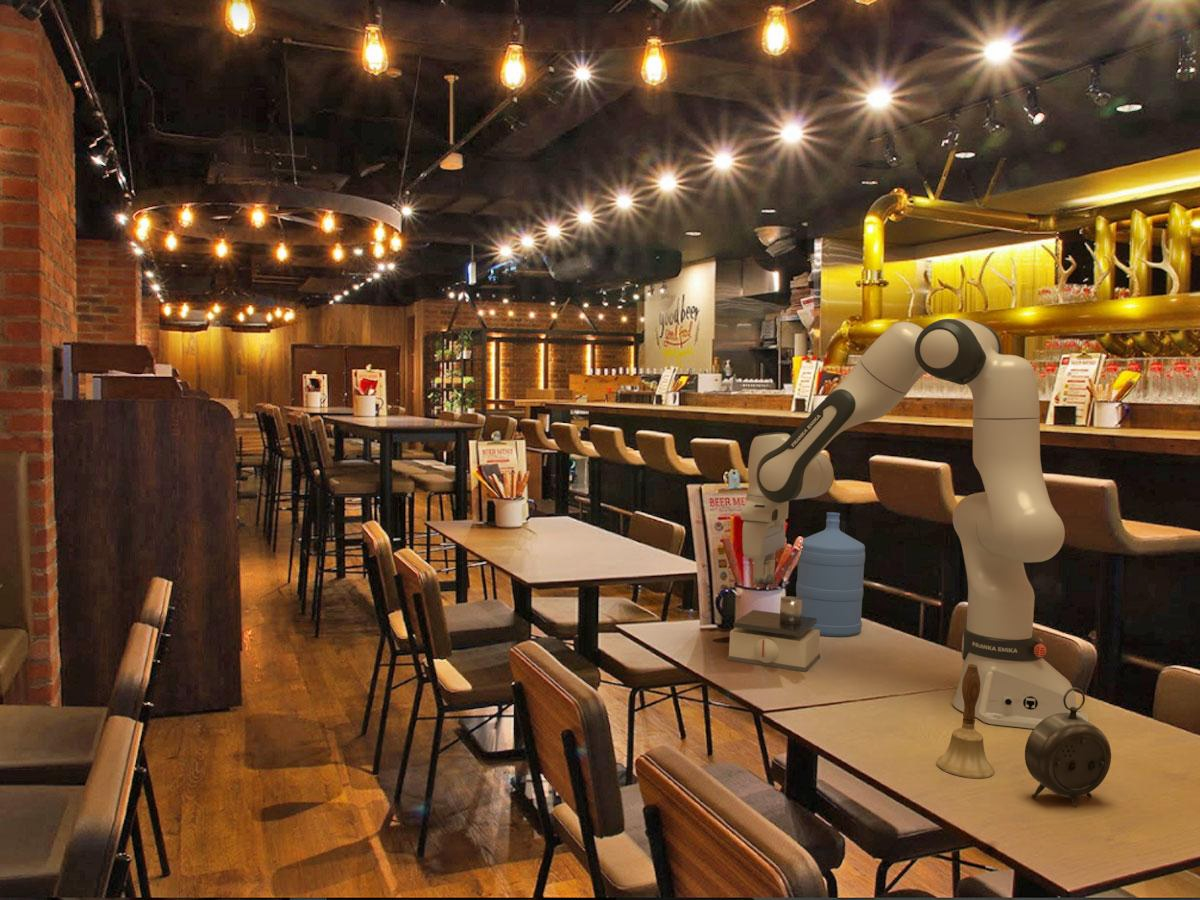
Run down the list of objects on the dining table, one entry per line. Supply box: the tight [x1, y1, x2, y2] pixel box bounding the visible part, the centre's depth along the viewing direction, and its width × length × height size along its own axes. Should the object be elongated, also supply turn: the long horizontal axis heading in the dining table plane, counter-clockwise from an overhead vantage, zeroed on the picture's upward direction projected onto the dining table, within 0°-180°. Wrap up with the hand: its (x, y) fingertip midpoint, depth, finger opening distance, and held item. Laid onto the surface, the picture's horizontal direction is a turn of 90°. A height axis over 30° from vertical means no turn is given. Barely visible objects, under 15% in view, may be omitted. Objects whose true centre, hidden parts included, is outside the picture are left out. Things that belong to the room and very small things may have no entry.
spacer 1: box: [779, 595, 802, 625], centre depth 208 cm, size 4×4×5 cm
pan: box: [733, 609, 817, 637], centre depth 209 cm, size 14×14×2 cm
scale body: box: [726, 627, 821, 673], centre depth 209 cm, size 17×13×6 cm
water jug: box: [795, 511, 866, 638], centre depth 237 cm, size 16×16×28 cm
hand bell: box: [936, 664, 995, 779], centre depth 151 cm, size 8×8×16 cm
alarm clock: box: [1024, 687, 1112, 808], centre depth 139 cm, size 11×5×16 cm, turn 99°
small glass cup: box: [752, 557, 776, 586], centre depth 210 cm, size 4×4×5 cm
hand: (763, 574), depth 210 cm, fingers closed on small glass cup, 4 cm apart
